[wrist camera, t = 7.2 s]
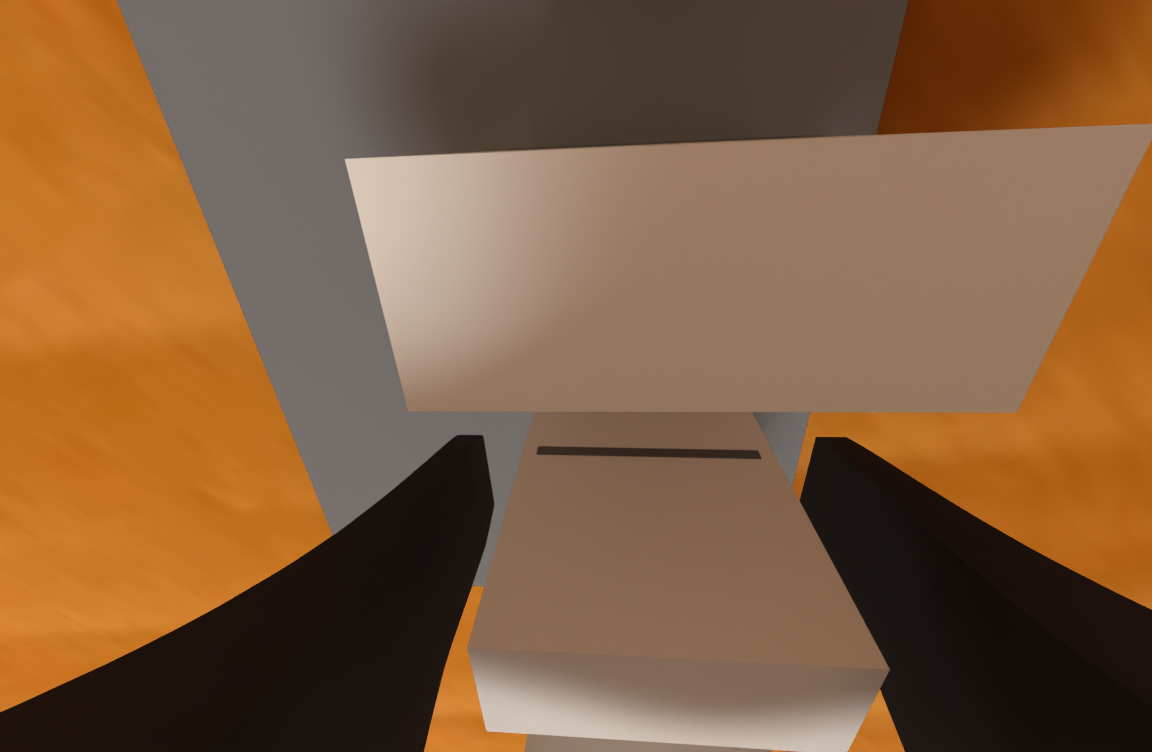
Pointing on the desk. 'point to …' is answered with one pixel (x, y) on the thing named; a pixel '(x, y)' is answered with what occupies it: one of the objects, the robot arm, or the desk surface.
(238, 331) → the desk surface
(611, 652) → the domino
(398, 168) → the domino
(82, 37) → the desk surface
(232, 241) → the mat
